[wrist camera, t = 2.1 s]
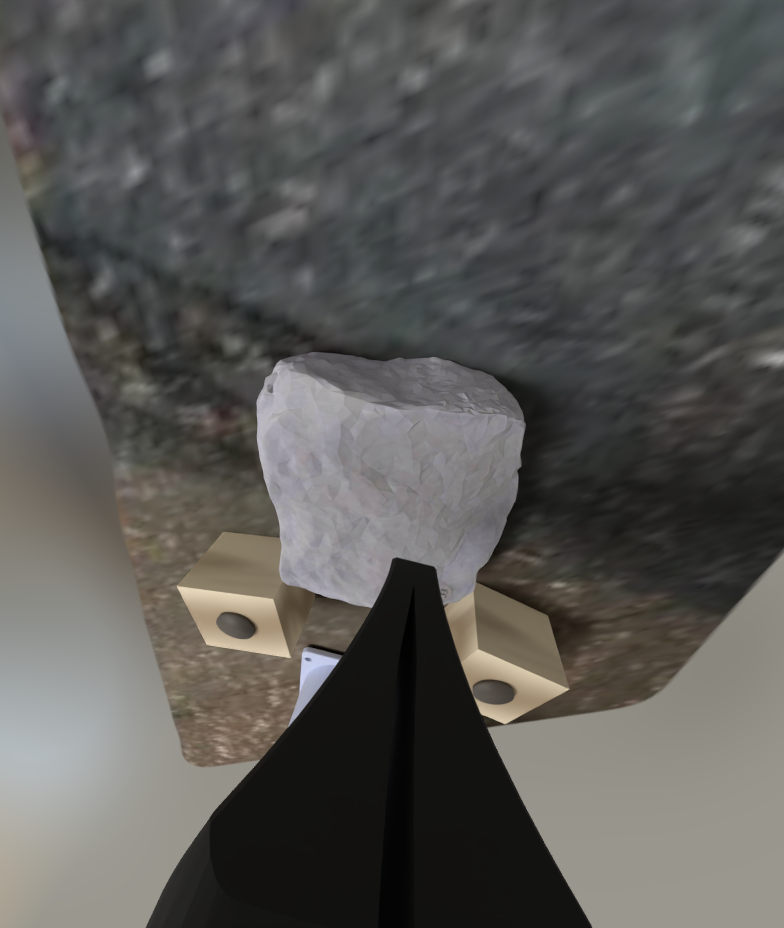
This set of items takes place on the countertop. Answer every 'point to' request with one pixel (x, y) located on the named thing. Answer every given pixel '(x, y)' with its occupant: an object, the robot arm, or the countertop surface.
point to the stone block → (386, 469)
